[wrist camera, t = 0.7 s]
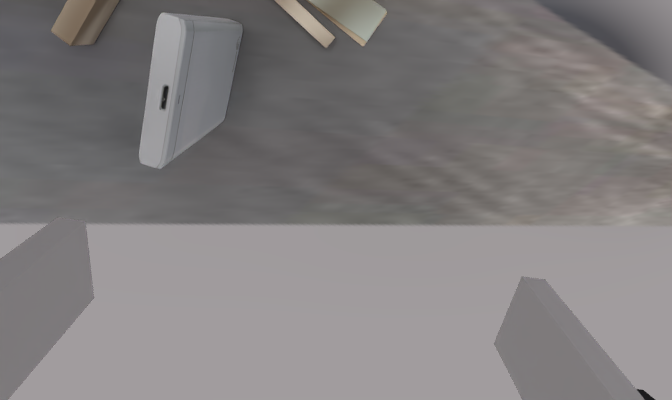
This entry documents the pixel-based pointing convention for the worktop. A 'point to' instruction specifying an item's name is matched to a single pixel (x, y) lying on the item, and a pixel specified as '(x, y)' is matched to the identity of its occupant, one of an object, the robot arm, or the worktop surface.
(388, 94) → the worktop surface
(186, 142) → the hard drive
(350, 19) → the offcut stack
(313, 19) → the birch rack
